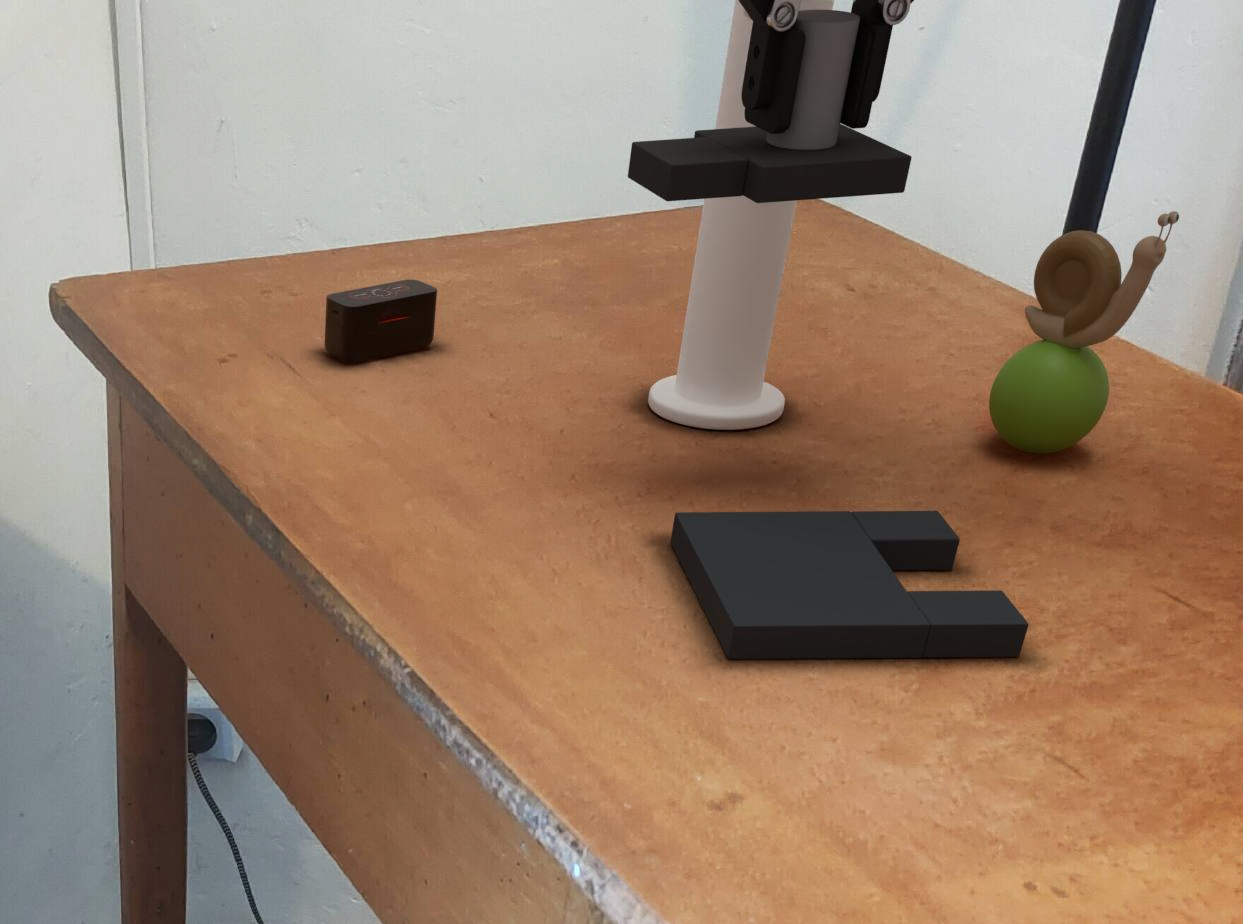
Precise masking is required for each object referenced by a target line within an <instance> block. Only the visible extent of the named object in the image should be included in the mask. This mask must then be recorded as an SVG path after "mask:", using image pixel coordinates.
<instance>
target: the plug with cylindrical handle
mask: <svg viewBox="0 0 1243 924" xmlns="http://www.w3.org/2000/svg"><path fill="white" fill-rule="evenodd" d="M859 22H860V17H859V16H858V15H856V14H854V13H851V11H844V10H837V9H836V10H835V9H832V10H801V11H799V12H798V17H797V23H796V28H797V29H799V30H802V31H804V34H805V46H804V52H803V57H802V63H801V68H800V74H799V79H798V85H797V91H796V96H795V102H794V107H793V113H792V119H791V124H790V127H789V129H788V130H786V131H785V132H784V133H779V134H770V133H768V132H766V131H764V130H762V129H760V128H758V127H742V128H727V129H715V128H712V129H699V130H695V131H694V135H693V137H685V138H672V139H656V140H641V141H640V140H639V141H633V142H632V143H631V147H630V157H629V163H628V171H627V178H628V179H630V181H633V182H635V183H636V184H638V185H639V186H641V187H643V188H644V189H646V190H648V191H649V192H651V193H652V194H654V195H655V196H657V197H659V198H660V199H662V200H664V201H665V202H678V201H680V202H681V201H692V200H693V201H694V200H704V199H708V198H722V197H736V196H742V195H743V196H745V197H747V198H749V199H750V200H752V201H754V202H756V203H768V202H782V201H796V200H797V201H807V200H808V201H809V200H822V199H823V200H824V199H836V198H849V197H863V196H877V195H878V196H879V195H891V194H903V193H905V191H906V185H907V180H908V176H909V171H910V167H911V163H912V155H910V154H908V153H905V152H903V151H901V150H899V149H896V148H894V147H893V146H890V145H888V144H885V143H884V142H881V141H879V140H877V139H875V138H872V137H870V136H868V135H867V134H865V133H862V132H859V131H858V130H855V129H852V128H850V127H848V126H845V125H843V124H841V123H840V120H841V115H842V110H843V105H844V100H845V94H846V89H847V84H848V79H849V74H850V69H851V63H852V58H853V53H854V48H855V43H856V38H857V32H858V27H859Z"/></svg>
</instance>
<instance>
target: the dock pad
mask: <svg viewBox="0 0 1243 924" xmlns="http://www.w3.org/2000/svg"><path fill="white" fill-rule="evenodd" d="M670 535H671V536H670V542H669V543H670V546H671V548H672V550H673V551H674V554H675V555H676V557H677V559H678V561H679V564H680V565H681V568H682V569H683V571H684V573H685V575H686V577H687V580H688V582H689V583H690V585H691V587H692V589H693V592H694V593H695V596H696V598H697V599H698V601H699V603H700V605H701V607H702V609H703V612H704V613H705V616H706V618H707V620H708V622H709V624H710V625H711V628H712V629H713V632H714V634H715V636H716V637H717V639H718V641H719V643H720V645H721V647H722V649H723V651H724V653H725V655H726V657H727V659H728V660H773V659H774V660H778V659H779V660H781V659H782V660H784V659H793V660H794V659H795V660H796V659H797V660H798V659H803V660H805V659H921V658H923V659H925V658H930V659H931V658H937V659H938V658H944V659H945V658H946V659H947V658H1019V657H1020V655H1021V651H1022V649H1023V645H1024V642H1025V638H1026V635H1027V632H1028V629H1029V622H1028V620H1027V619H1026V618H1025V617H1024V615H1022V613H1021V612H1020V611H1019V610H1018V609H1017V607H1016V606H1015V605H1014V604H1013V602H1012V601H1011V599H1009V597H1008V595H1006V594H1005V592H1004V591H1003V590H1001V589H997V590H992V589H991V590H989V589H988V590H987V589H986V590H907V589H906V588H905V587H904V585H903V584H902V582H901V581H900V580H899V579H898V577H897V575H896V574H895V573H894V571H952V570H953V569H954V564H955V561H956V556H957V552H958V548H959V545H960V541H961V538H960V537H959V536H958V534H957V533H956V532H955V531H954V529H953V528H952V527H951V525H950V524H949V523H948V522H947V520H946V519H945V518H944V517H943V516H942V514H941V513H940V512H939V511H938V510H858V511H857V510H852V511H850V510H811V511H809V510H807V511H805V510H801V511H800V510H799V511H692V512H691V511H689V512H688V511H686V512H684V511H682V512H681V511H679V512H677V511H676V512H675V513H674V518H673V524H672V531H671V534H670Z"/></svg>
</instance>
